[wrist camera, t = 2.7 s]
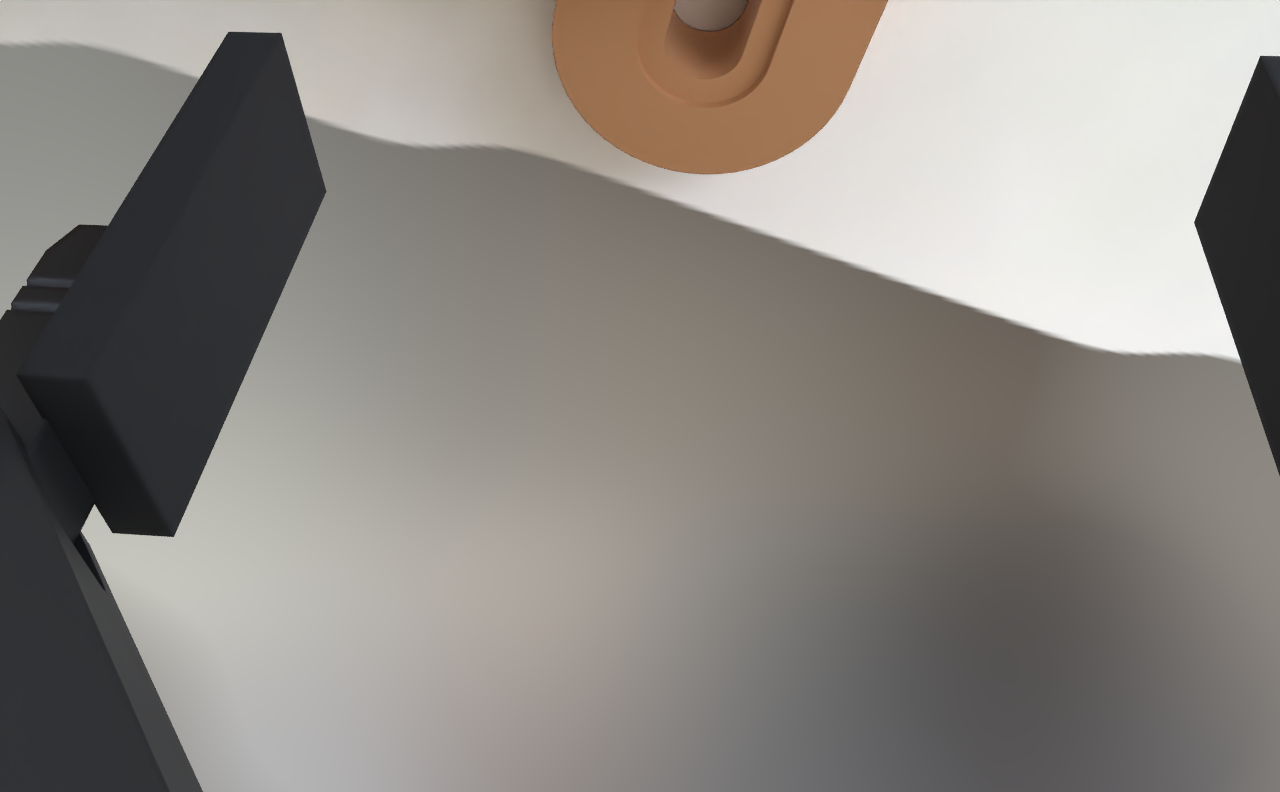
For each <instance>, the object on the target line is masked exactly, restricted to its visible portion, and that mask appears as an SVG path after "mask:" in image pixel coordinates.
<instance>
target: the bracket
mask: <svg viewBox="0 0 1280 792" xmlns="http://www.w3.org/2000/svg"><path fill="white" fill-rule="evenodd" d="M675 2H676V0H557V1H556V6H555V10H554V17H553V24H552V44H553V55H554V59H555V64H556V68H557V71H558V74H559V77H560V80H561V83H562V85H563V87H564V89H565V91H566V93H567V95H568V97H569V99H570V100H571V102H572V104H573V105H574V107H575V108H576V110H577V111H578V112H579V114H580V115H581V116H582V117H583V119H584V120H585V121H586V122H587V123H588V124H589V125H590V126H591V127H592V128H593V129H594V130H595V131H596V132H597V133H598V134H599V135H600V136H602V137H603V138H604V139H605V140H606V141H608V142H609V143H611V144H612V145H614V146H615V147H616V148H618V149H620V150H621V151H623V152H625V153H627V154H628V155H630V156H632V157H634V158H637V159H639V160H641V161H643V162H646V163H648V164H651V165H654V166H657V167H660V168H664V169H668V170H672V171H678V172H684V173H693V174H723V173H732V172H738V171H743V170H748V169H752V168H755V167H759V166H762V165H765V164H767V163H770V162H772V161H775V160H777V159H779V158H781V157H783V156H785V155H787V154H789V153H791V152H792V151H794V150H795V149H797V148H799V147H800V146H802V145H803V144H804V143H806V142H807V141H808V140H810V139H811V138H812V137H813V136H815V135H816V134H817V133H818V132H819V131H820V130H821V129H822V128H823V127H824V126H825V125H826V124H827V122H828V121H829V120H830V119H831V118H832V116H833V115H834V114H835V112H836V111H837V109H838V108H839V106H840V105H841V103H842V102H843V100H844V98H845V96H846V94H847V92H848V90H849V88H850V86H851V84H852V81H853V79H854V77H855V74H856V72H857V70H858V68H859V65H860V63H861V61H862V59H863V56H864V54H865V52H866V49H867V47H868V45H869V43H870V40H871V38H872V36H873V34H874V31H875V29H876V27H877V24H878V22H879V20H880V18H881V15H882V13H883V11H884V9H885V6H886V4H887V2H888V0H748V2H747V5H746V8H745V10H744V12H743V14H742V15H741V17H740V18H739V19H738V20H737V21H736V22H735V23H734V24H733V25H731V26H729V27H728V28H725V29H723V30H719V31H713V32H706V31H700V30H696V29H694V28H692V27H690V26H688V25H687V24H685V23H684V22H683V21H682V20H681V19H680V18H679V17H678V16H677V14H676V12H675V10H674V5H675Z"/></svg>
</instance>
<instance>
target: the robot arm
mask: <svg viewBox="0 0 1280 792" xmlns="http://www.w3.org/2000/svg"><path fill="white" fill-rule="evenodd" d="M325 193H326V189H325V185H324V182H323V178H322V175H321V171H320V168H319V164H318V160H317V157H316V153H315V150H314V147H313V143H312V139H311V136H310V132H309V129H308V125H307V122H306V118H305V115H304V111H303V108H302V104H301V100H300V97H299V93H298V90H297V86H296V83H295V79H294V76H293V72H292V69H291V65H290V62H289V58H288V55H287V51H286V48H285V44H284V41H283V37H282V33H255V32H228V34H227V35H226V37H225V38H224V40H223V42H222V43H221V45H220V46H219V48H218V50H217V51H216V53H215V55H214V56H213V58H212V59H211V61H210V63H209V64H208V66H207V67H206V69H205V71H204V72H203V74H202V75H201V77H200V79H199V80H198V82H197V84H196V85H195V87H194V88H193V90H192V92H191V93H190V95H189V96H188V98H187V100H186V101H185V103H184V105H183V106H182V108H181V109H180V111H179V113H178V114H177V116H176V118H175V119H174V121H173V123H172V124H171V125H170V127H169V129H168V130H167V132H166V134H165V135H164V137H163V138H162V140H161V142H160V143H159V145H158V147H157V148H156V150H155V151H154V153H153V154H152V156H151V158H150V159H149V161H148V163H147V164H146V166H145V167H144V169H143V171H142V172H141V174H140V175H139V177H138V179H137V180H136V182H135V184H134V185H133V187H132V188H131V190H130V192H129V193H128V195H127V197H126V198H125V200H124V201H123V203H122V205H121V206H120V208H119V209H118V211H117V213H116V214H115V216H114V218H113V219H112V221H111V222H110V224H109V225H108V226H101V225H100V226H99V225H78V226H77V227H75V228H74V229H73V230H72V231H71V232H69V233H68V234H67V235H65V236H64V237H63V238H62V239H60V240H59V241H58V242H56V243H55V244H54V245H53V246H51V247H50V248H49V249H47V250H46V251H45V253H44V255H43V256H42V258H41V259H40V261H39V262H38V264H37V265H36V267H35V268H34V270H33V271H32V273H31V274H30V276H29V277H28V279H27V286H22V288H21V289H20V291H19V292H18V294H17V296H16V297H15V298H14V300H13V301H12V303H11V306H12V308H11V310H7V311H6V312H5V314H4V315H3V317H2V318H1V320H0V792H203V791H202V789H201V787H200V784H199V782H198V780H197V778H196V776H195V774H194V771H193V769H192V767H191V765H190V763H189V761H188V758H187V756H186V754H185V752H184V750H183V747H182V745H181V743H180V741H179V739H178V736H177V734H176V732H175V730H174V728H173V726H172V723H171V721H170V719H169V717H168V715H167V713H166V710H165V708H164V706H163V704H162V702H161V699H160V697H159V695H158V693H157V691H156V688H155V686H154V684H153V682H152V680H151V678H150V675H149V673H148V671H147V669H146V667H145V665H144V662H143V660H142V658H141V656H140V654H139V651H138V649H137V647H136V645H135V643H134V640H133V638H132V637H131V634H130V632H129V630H128V627H127V625H126V623H125V621H124V619H123V617H122V614H121V612H120V610H119V608H118V606H117V604H116V601H115V599H114V597H113V595H112V593H111V590H110V588H109V586H108V584H107V582H106V579H105V578H104V575H103V573H102V571H101V569H100V566H99V564H98V562H97V560H96V558H95V555H94V553H93V551H92V549H91V547H90V545H89V543H88V542H87V540H86V539H85V537H84V536H83V534H82V532H81V529H82V527H83V525H84V523H85V521H86V519H87V517H88V515H89V513H90V511H91V509H92V507H93V506H94V504H95V505H96V507H97V509H98V510H99V512H100V513H101V515H102V517H103V518H104V520H105V522H106V523H107V525H108V526H109V528H110V530H111V531H112V533H120V534H137V535H152V536H167V537H174V535H175V533H176V531H177V528H178V526H179V524H180V522H181V519H182V517H183V515H184V513H185V510H186V508H187V506H188V504H189V501H190V499H191V497H192V494H193V492H194V490H195V488H196V485H197V483H198V481H199V478H200V476H201V474H202V472H203V470H204V467H205V465H206V463H207V460H208V458H209V456H210V454H211V451H212V449H213V447H214V445H215V442H216V440H217V438H218V435H219V433H220V431H221V429H222V427H223V424H224V422H225V420H226V417H227V415H228V413H229V410H230V408H231V406H232V404H233V401H234V399H235V397H236V395H237V392H238V390H239V388H240V386H241V383H242V381H243V379H244V377H245V374H246V372H247V370H248V367H249V365H250V363H251V361H252V359H253V356H254V354H255V352H256V349H257V347H258V345H259V343H260V340H261V338H262V336H263V333H264V331H265V329H266V327H267V325H268V322H269V320H270V317H271V315H272V313H273V311H274V309H275V306H276V304H277V302H278V300H279V297H280V295H281V293H282V290H283V288H284V286H285V284H286V281H287V279H288V277H289V275H290V272H291V270H292V268H293V265H294V263H295V261H296V259H297V256H298V254H299V252H300V250H301V248H302V245H303V243H304V241H305V239H306V236H307V234H308V232H309V229H310V227H311V225H312V223H313V220H314V218H315V216H316V214H317V211H318V209H319V207H320V205H321V202H322V200H323V198H324V195H325ZM1194 223H1195V226H1196V229H1197V232H1198V235H1199V238H1200V241H1201V244H1202V247H1203V250H1204V253H1205V256H1206V259H1207V262H1208V265H1209V268H1210V271H1211V274H1212V277H1213V279H1214V282H1215V285H1216V288H1217V291H1218V294H1219V297H1220V300H1221V303H1222V306H1223V309H1224V312H1225V315H1226V318H1227V321H1228V324H1229V327H1230V330H1231V333H1232V336H1233V339H1234V342H1235V345H1236V348H1237V351H1238V354H1239V357H1240V359H1241V362H1242V365H1243V368H1244V371H1245V374H1246V377H1247V380H1248V383H1249V386H1250V389H1251V392H1252V395H1253V398H1254V401H1255V404H1256V407H1257V410H1258V413H1259V416H1260V418H1261V422H1262V425H1263V427H1264V431H1265V434H1266V436H1267V439H1268V442H1269V445H1270V448H1271V451H1272V454H1273V457H1274V460H1275V463H1276V466H1277V469H1278V472H1279V475H1280V56H1260V58H1259V61H1258V63H1257V66H1256V68H1255V71H1254V73H1253V76H1252V78H1251V81H1250V83H1249V86H1248V89H1247V91H1246V94H1245V96H1244V99H1243V101H1242V104H1241V106H1240V109H1239V111H1238V114H1237V116H1236V119H1235V121H1234V124H1233V126H1232V129H1231V131H1230V134H1229V136H1228V139H1227V141H1226V144H1225V146H1224V149H1223V151H1222V154H1221V156H1220V159H1219V161H1218V164H1217V166H1216V169H1215V171H1214V174H1213V176H1212V179H1211V181H1210V184H1209V186H1208V189H1207V191H1206V194H1205V196H1204V199H1203V201H1202V204H1201V207H1200V209H1199V212H1198V214H1197V217H1196V219H1195V222H1194Z"/></svg>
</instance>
